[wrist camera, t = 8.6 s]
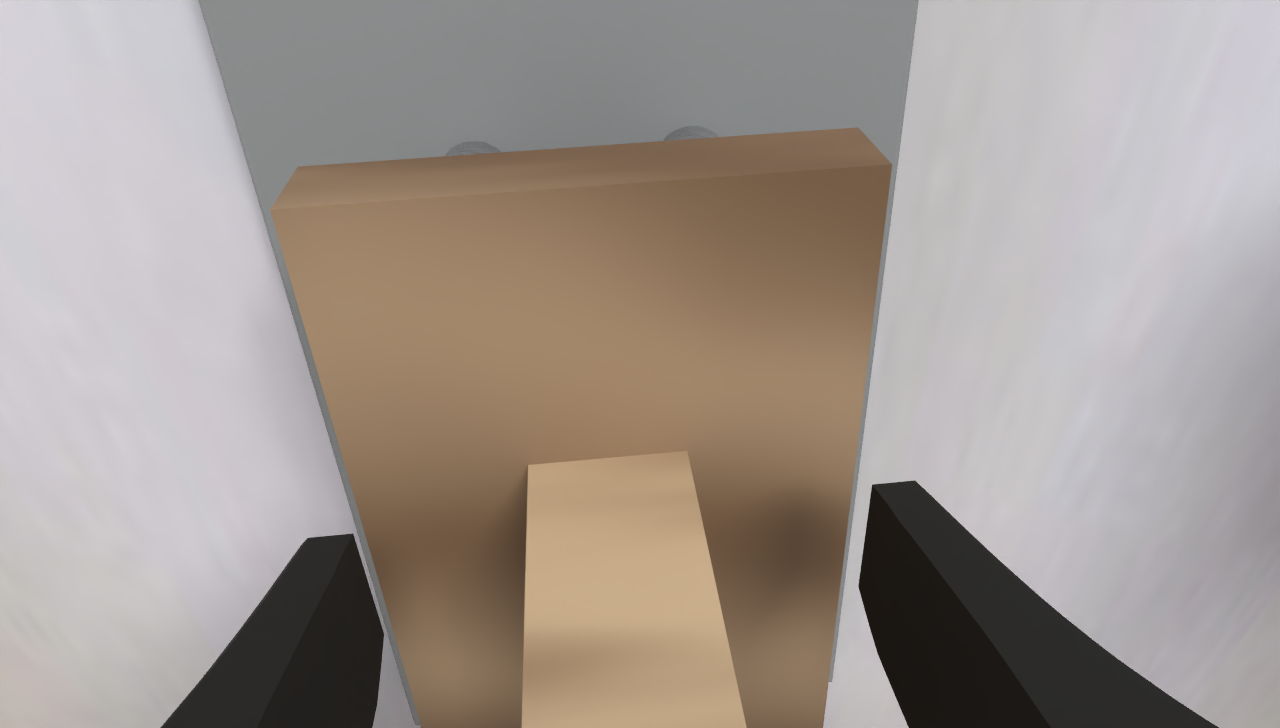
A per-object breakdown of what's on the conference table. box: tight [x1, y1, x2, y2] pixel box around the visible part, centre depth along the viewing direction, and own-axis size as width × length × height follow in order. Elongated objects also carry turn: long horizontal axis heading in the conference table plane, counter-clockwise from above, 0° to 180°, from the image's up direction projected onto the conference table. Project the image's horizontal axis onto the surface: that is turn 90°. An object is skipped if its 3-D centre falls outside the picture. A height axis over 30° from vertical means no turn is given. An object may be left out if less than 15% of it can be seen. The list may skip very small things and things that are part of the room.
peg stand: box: [199, 0, 918, 725], centre depth 18 cm, size 12×22×4 cm, turn 2°
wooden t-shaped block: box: [270, 127, 892, 728], centre depth 13 cm, size 14×8×8 cm, turn 2°
